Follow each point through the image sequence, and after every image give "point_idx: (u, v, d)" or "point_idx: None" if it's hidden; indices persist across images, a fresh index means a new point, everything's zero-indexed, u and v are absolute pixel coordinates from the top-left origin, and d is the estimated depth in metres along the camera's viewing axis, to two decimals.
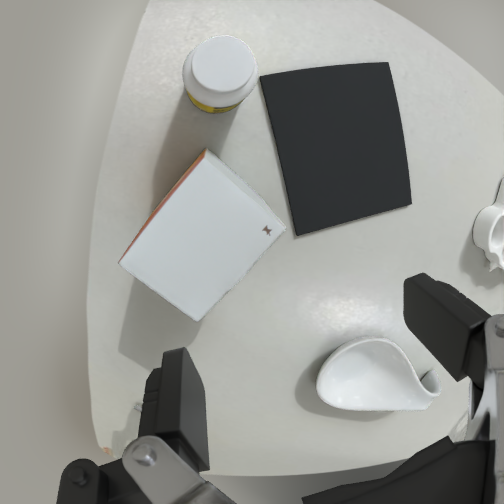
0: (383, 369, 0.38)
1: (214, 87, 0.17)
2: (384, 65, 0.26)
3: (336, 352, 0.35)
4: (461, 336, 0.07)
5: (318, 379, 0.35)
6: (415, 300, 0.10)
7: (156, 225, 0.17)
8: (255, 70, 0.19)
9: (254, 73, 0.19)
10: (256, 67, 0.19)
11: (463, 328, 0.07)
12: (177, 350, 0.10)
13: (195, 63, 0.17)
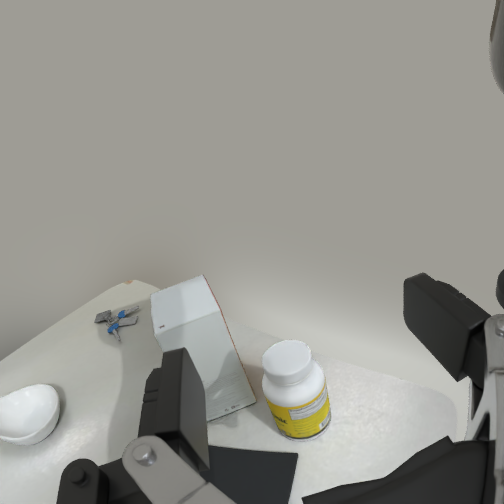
0: (12, 431, 0.29)
1: (269, 349, 0.25)
2: None
3: (57, 407, 0.32)
4: (461, 336, 0.07)
5: (54, 389, 0.35)
6: (415, 300, 0.10)
7: (205, 288, 0.30)
8: (280, 396, 0.23)
9: (277, 395, 0.23)
10: (282, 399, 0.23)
11: (463, 328, 0.07)
12: (177, 350, 0.10)
13: (293, 341, 0.25)
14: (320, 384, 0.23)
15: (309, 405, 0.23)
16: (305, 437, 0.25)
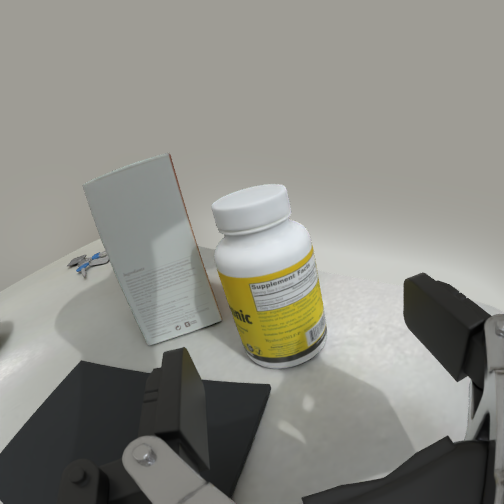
0: None
1: None
2: None
3: None
4: (461, 336, 0.07)
5: None
6: (415, 300, 0.10)
7: None
8: (235, 257, 0.15)
9: (232, 255, 0.16)
10: (239, 260, 0.15)
11: (463, 328, 0.07)
12: (177, 350, 0.10)
13: (263, 185, 0.18)
14: (302, 243, 0.16)
15: (285, 279, 0.15)
16: (283, 358, 0.17)
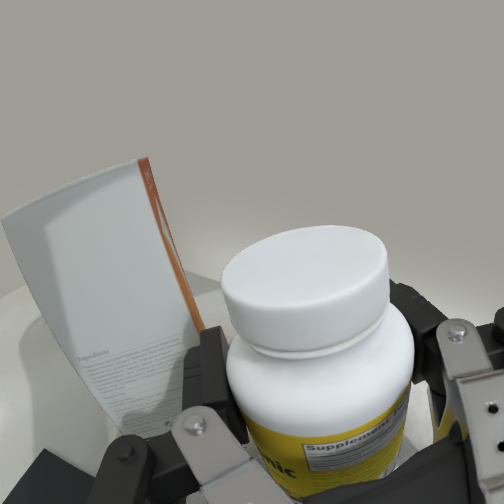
0: None
1: (252, 246, 0.09)
2: None
3: None
4: (414, 339, 0.08)
5: None
6: None
7: None
8: (276, 400, 0.06)
9: (268, 394, 0.07)
10: (286, 409, 0.06)
11: (415, 331, 0.08)
12: (214, 328, 0.10)
13: (323, 228, 0.09)
14: (409, 359, 0.07)
15: (373, 430, 0.06)
16: None
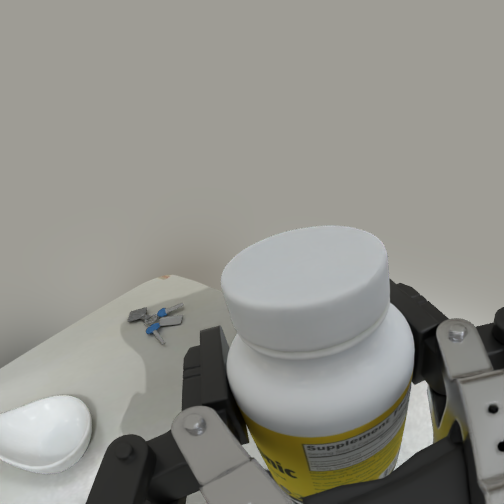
0: (28, 453, 0.22)
1: (253, 247, 0.09)
2: None
3: (90, 428, 0.25)
4: (414, 339, 0.08)
5: (83, 403, 0.28)
6: None
7: None
8: (277, 400, 0.06)
9: (268, 394, 0.07)
10: (286, 409, 0.06)
11: (415, 331, 0.08)
12: (214, 328, 0.10)
13: (323, 228, 0.09)
14: (409, 359, 0.07)
15: (374, 431, 0.06)
16: None
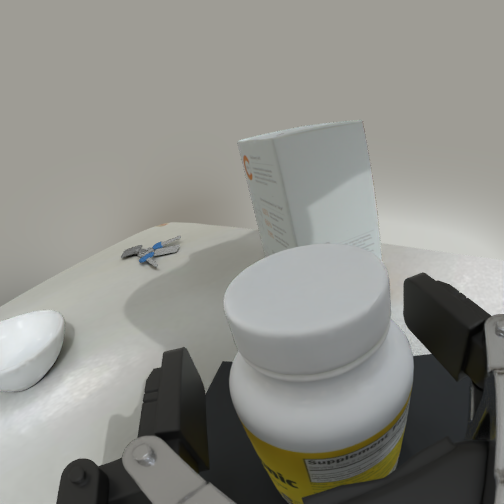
0: None
1: (254, 266, 0.09)
2: None
3: (60, 333, 0.23)
4: (461, 336, 0.07)
5: (59, 313, 0.26)
6: (415, 300, 0.10)
7: None
8: (279, 419, 0.07)
9: (271, 413, 0.07)
10: (288, 427, 0.06)
11: (463, 328, 0.07)
12: (177, 350, 0.10)
13: (325, 246, 0.09)
14: (408, 377, 0.07)
15: (373, 445, 0.06)
16: None
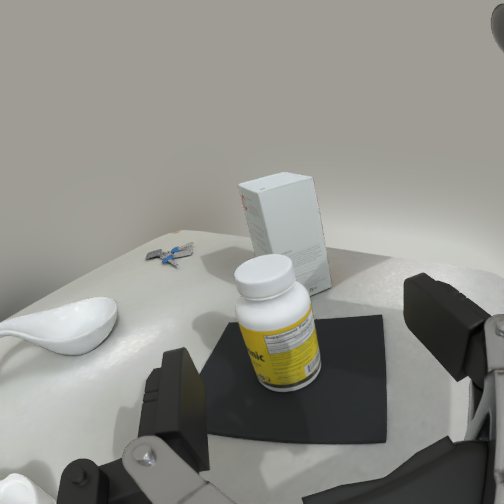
0: None
1: (245, 262, 0.23)
2: (381, 432, 0.17)
3: (116, 311, 0.36)
4: (461, 336, 0.07)
5: None
6: (415, 300, 0.10)
7: (291, 174, 0.35)
8: (253, 316, 0.20)
9: (250, 314, 0.21)
10: (256, 319, 0.20)
11: (463, 328, 0.07)
12: (177, 350, 0.10)
13: (273, 255, 0.23)
14: (303, 305, 0.21)
15: (290, 332, 0.20)
16: (287, 385, 0.22)
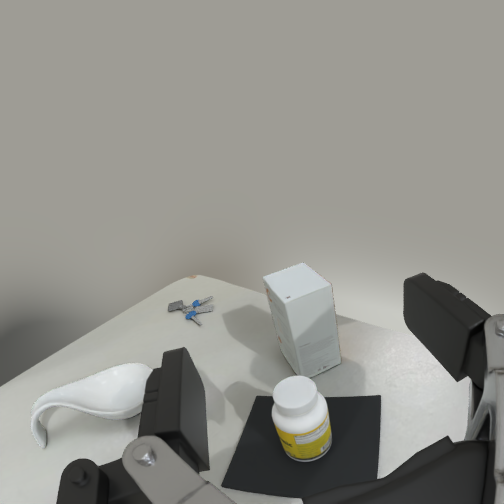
0: (102, 408, 0.39)
1: (280, 383, 0.28)
2: None
3: None
4: (461, 336, 0.07)
5: (148, 366, 0.45)
6: (415, 300, 0.10)
7: (311, 271, 0.40)
8: (287, 425, 0.25)
9: (285, 423, 0.26)
10: (289, 427, 0.25)
11: (463, 328, 0.07)
12: (177, 350, 0.10)
13: (301, 377, 0.28)
14: (323, 415, 0.26)
15: (313, 433, 0.25)
16: (307, 458, 0.27)
